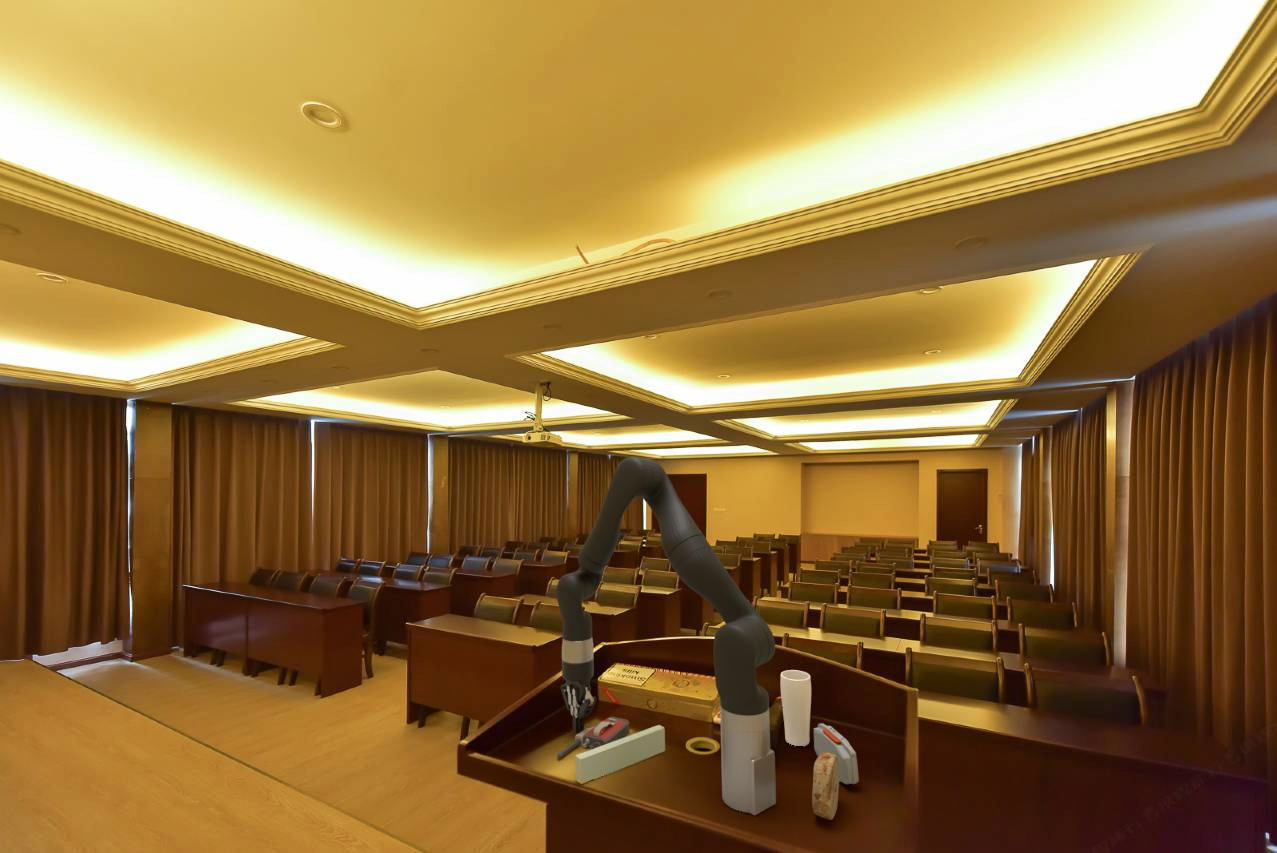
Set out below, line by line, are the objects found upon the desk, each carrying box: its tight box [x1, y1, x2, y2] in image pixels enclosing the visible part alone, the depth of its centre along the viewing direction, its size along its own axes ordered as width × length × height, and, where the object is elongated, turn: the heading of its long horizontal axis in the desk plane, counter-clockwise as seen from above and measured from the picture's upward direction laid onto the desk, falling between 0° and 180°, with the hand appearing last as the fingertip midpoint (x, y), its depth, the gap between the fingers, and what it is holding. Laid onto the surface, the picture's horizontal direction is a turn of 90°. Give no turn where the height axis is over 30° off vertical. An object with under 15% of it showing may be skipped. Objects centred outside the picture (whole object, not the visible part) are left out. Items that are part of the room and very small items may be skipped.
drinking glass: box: [780, 669, 812, 747], centre depth 133 cm, size 7×7×15 cm
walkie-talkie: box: [556, 716, 631, 759], centre depth 133 cm, size 9×4×20 cm
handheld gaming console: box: [813, 722, 860, 785], centre depth 119 cm, size 14×3×8 cm, turn 11°
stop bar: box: [574, 724, 666, 782], centre depth 123 cm, size 2×22×5 cm, turn 128°
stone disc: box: [811, 752, 840, 821], centre depth 106 cm, size 10×4×10 cm, turn 150°
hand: (578, 731), depth 137 cm, fingers closed
